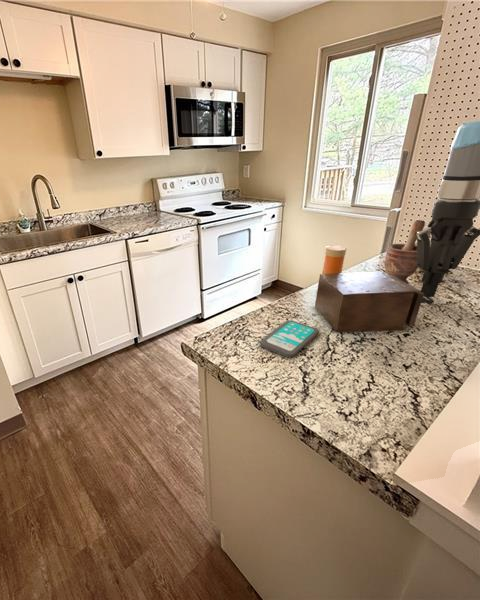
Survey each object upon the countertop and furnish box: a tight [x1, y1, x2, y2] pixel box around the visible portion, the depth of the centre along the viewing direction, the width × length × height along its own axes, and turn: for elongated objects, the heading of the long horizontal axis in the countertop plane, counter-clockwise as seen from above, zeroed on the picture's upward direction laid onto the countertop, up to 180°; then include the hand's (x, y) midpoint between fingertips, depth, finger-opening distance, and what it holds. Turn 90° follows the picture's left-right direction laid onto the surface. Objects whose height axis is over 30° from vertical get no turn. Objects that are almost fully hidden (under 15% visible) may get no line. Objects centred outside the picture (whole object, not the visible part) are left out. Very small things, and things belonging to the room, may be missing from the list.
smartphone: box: [260, 320, 319, 358], centre depth 77 cm, size 9×1×15 cm
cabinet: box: [314, 270, 415, 333], centre depth 81 cm, size 16×14×11 cm
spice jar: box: [321, 245, 347, 274], centre depth 95 cm, size 5×5×15 cm
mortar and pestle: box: [384, 219, 426, 285], centre depth 94 cm, size 12×9×20 cm
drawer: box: [387, 274, 435, 327], centre depth 80 cm, size 19×12×9 cm, turn 84°
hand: (426, 294), depth 79 cm, fingers closed
